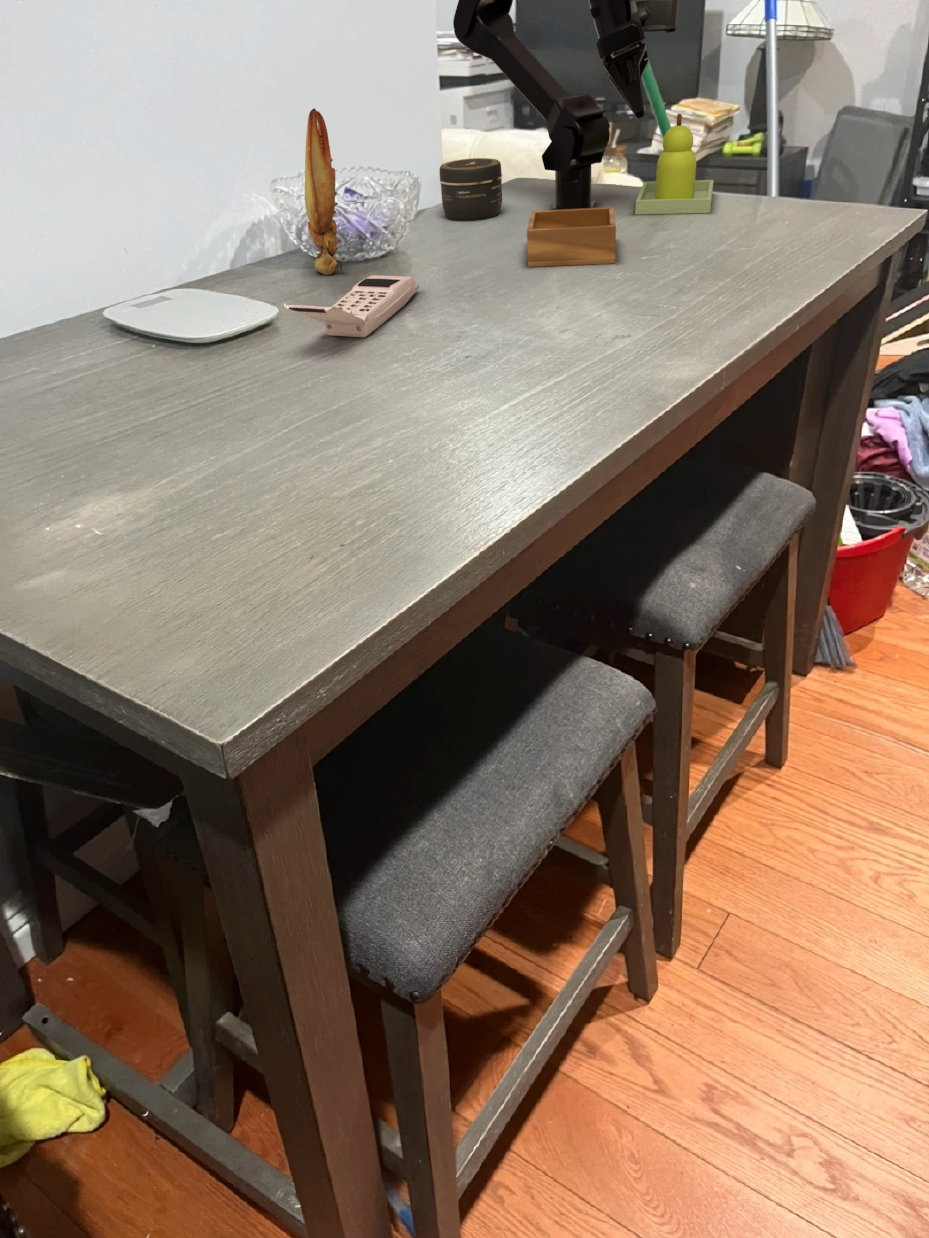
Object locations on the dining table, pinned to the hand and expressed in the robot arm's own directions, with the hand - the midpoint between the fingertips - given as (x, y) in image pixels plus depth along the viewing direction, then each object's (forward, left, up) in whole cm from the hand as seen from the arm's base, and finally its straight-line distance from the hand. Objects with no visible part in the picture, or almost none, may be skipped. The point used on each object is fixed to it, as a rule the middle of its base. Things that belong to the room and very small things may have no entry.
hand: (640, 114), depth 131 cm
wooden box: (+22, -7, -14) cm, 26 cm away
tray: (-8, +5, -14) cm, 17 cm away
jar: (-3, -27, -14) cm, 30 cm away
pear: (-8, +5, -13) cm, 17 cm away
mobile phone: (+52, -26, -14) cm, 60 cm away
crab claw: (+32, -39, -14) cm, 52 cm away
